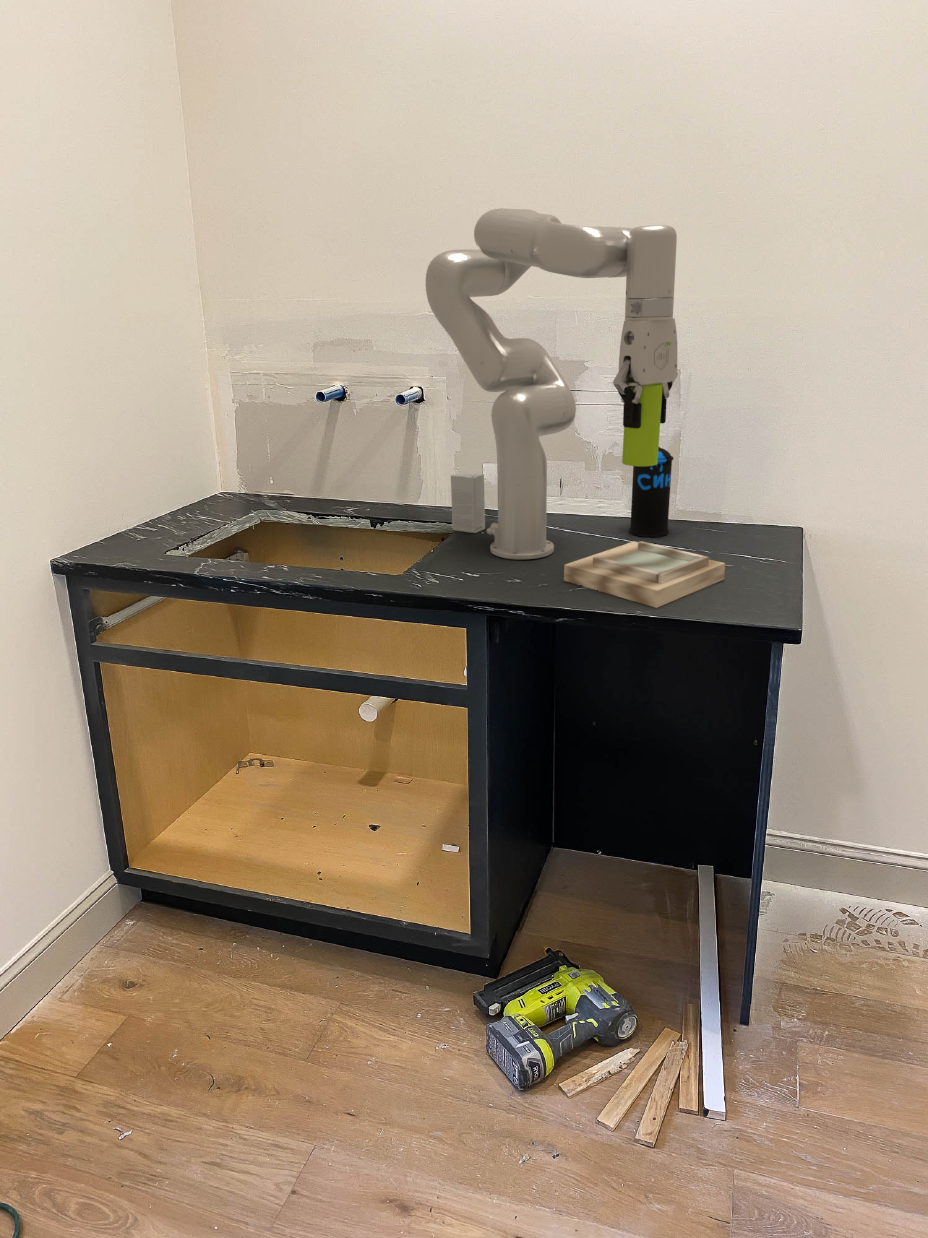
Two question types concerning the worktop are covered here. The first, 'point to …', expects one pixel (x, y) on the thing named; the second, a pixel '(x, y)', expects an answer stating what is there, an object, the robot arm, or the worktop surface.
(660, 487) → the aerosol can
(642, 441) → the soap dispenser
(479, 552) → the worktop surface
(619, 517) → the worktop surface
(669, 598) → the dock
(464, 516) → the skincare box
